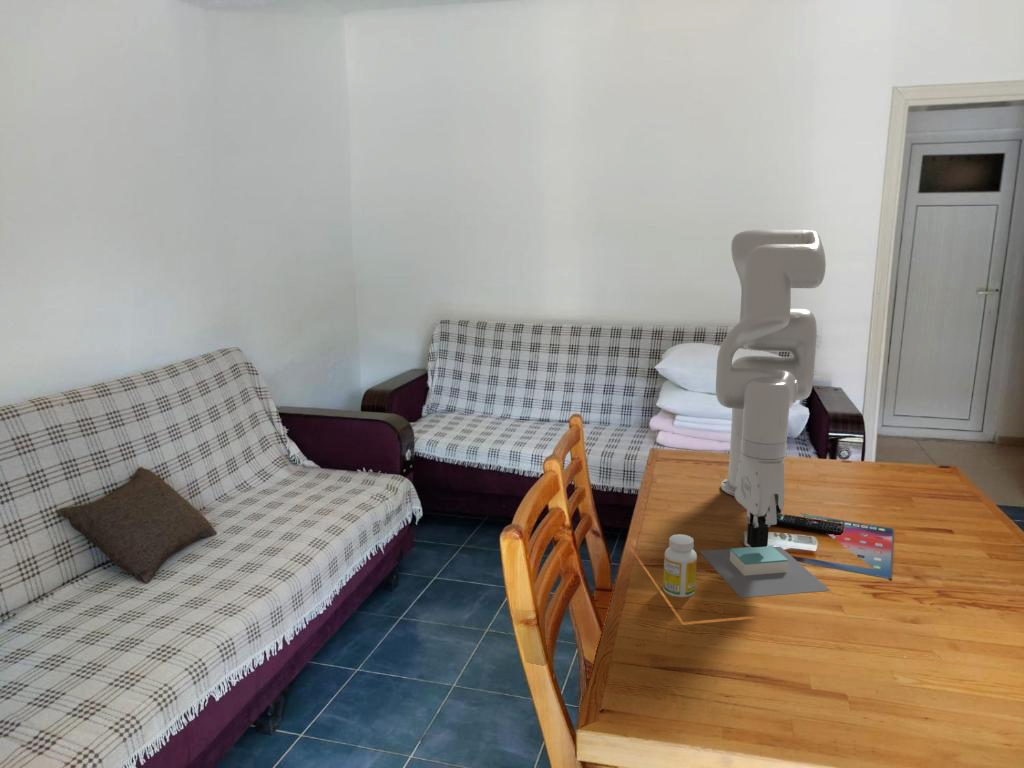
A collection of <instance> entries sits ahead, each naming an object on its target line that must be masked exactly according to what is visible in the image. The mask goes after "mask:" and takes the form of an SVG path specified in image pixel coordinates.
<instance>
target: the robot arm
mask: <svg viewBox="0 0 1024 768" xmlns="http://www.w3.org/2000/svg"><path fill="white" fill-rule="evenodd" d="M730 250H731V256H732V262H733V265H734V267H735V270H736V273H737V276H738V278H739V279H738V280H739V283H740V287H741V291H740V292H741V297H740V311H739V314H740V315H739V322H738V323H737V324H736V325H735V326H734V327H733V328H732V329H731V330H730V331H729V332H728V333H727V335H726V336H725V338H724V339H723V341H722V342H721V345H720V347H719V350H718V355H717V361H716V372H715V373H716V374H715V375H716V377H715V395H716V396H715V397H716V399H717V401H718V403H719V404H720V405H721V406H723V407H724V408H727V409H731V428H730V443H729V444H730V446H729V459H728V460H729V463H728V465H727V468H726V469H727V470H728V478H725V479H723V480H722V481H721V483H720V488H721V490H722V491H723V492H725V493H726V494H728V495H730V496H733V497H734V499H736V501H737V503H739V504H740V505H741V506H742V507H743V508H744V509H746V520H747V533H746V535H747V536H746V543H747V545H749V547H752V548H755V547H766V546H769V544H768V542H769V529H770V527H771V526H776V525H777V524H778V523H777V522H778V519H777V516H778V517H779V516H781V515H782V513H783V510H784V504H785V490H786V489H785V486H786V485H785V484H786V483H785V481H786V480H785V462H784V461H785V460H786V457H787V444H788V443H787V442H788V431H789V430H788V427H789V416H790V409H791V408H792V406H793V404H794V403H796V402H797V401H803V400H807V398H808V397H809V398H810V396H811V393H812V390H813V386H814V375H815V361H816V352H817V351H816V348H817V332H818V329H817V327H818V326H817V321H816V320H817V319H816V316H815V315H814V313H813V312H812V311H810V310H809V309H806V308H800V307H799V308H791V305H792V304H791V301H792V300H791V299H792V298H791V297H792V296H791V293H792V290H791V289H816V288H818V287H820V286H821V284H822V283H823V281H824V279H825V276H826V268H827V267H826V265H827V264H826V254H825V249H824V246H823V243H822V239H821V237H820V235H819V233H818V232H817V231H815V230H811V229H752V230H745V231H744V230H743V231H741V232H738V233H737V234H735V235H734V236H733V238H732V240H731V249H730ZM742 347H743V348H745V349H747V350H751V351H758V352H759V351H760V352H780V353H781V352H783V353H784V352H785V353H786V352H787V353H790V354H792V356H790V357H789V356H773V355H744V356H741V357H739V358H737V359H735V360H734V361H733V358H734V355H735V353H736V352H737V351H738V350H739V349H740V348H742Z"/></svg>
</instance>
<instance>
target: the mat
mask: <svg viewBox="0 0 1024 768" xmlns="http://www.w3.org/2000/svg"><path fill="white" fill-rule="evenodd" d="M774 548H775V549H776V550H777V551H778V552H780V553H781V554H782V555H783V556H784V557H785V558H786V559H787V560H788V564H787V572H784V573H772V574H759V575H747V576H744V575H743V574H742V573H741V572H740V571H739V570H738V569H737V568H736V567H735V565H734V564H733V563H732V562H731V561H730V549H731V548H723V549H709V550H708V549H707V550H699V553H700V554H701V555H702V556H703V557H704V559H705V560H706V561H707V562H708V563H709V564H710V565H711V567H712V568H713V569H714V570H715V571H716V572H717V573H718V574H719V575H720V576H721V578H723V580H724V581H725V582H726V583H727V585H728V586H730V588H731V589H732V590H733V591H734V592H735V593H736V595H737V596H738V597H739V599H746V598H758V597H770V596H782V595H783V596H785V595H792V594H794V595H795V594H806V593H815V592H816V593H818V592H830V591H831V589H830V588H829V587H827V585H825V584H824V583H823V582H822V581H821V580H819V579H818V578H817V577H816V576H814V575H813V573H812V572H810V571H809V570H808V569H806V568H805V567H804V566H803V565H802V563H801V562H797V561H796V560H795V559H794V558H793V557H792V556H793V555H791V554H790V553H788V552H787V551H786V550H785V549H784V548H783V547H782V546H780V547H774Z"/></svg>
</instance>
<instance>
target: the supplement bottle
mask: <svg viewBox="0 0 1024 768" xmlns="http://www.w3.org/2000/svg"><path fill="white" fill-rule="evenodd" d="M668 540H669V541H668V545H669V547H668V548H666V549H665V551H664V557H663V558H664V559H663V560H664V562H663V579H662V580H663V582H662V589H663V591H664V592H665V594H668V595H669V596H671V597H677V598H687V597H690V596H693V595H694V594H695V592H696V581H697V580H696V578H697V563H698V562H697V559H698V554H697V551H695V549H694V546H695V545H694V543H695V542H694V538H693V537H691V536H690V535H688V534H687V535H686V534H683V533H682V534H673V535H671V536H670V537H669V538H668Z"/></svg>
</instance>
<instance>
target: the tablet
mask: <svg viewBox="0 0 1024 768" xmlns="http://www.w3.org/2000/svg"><path fill="white" fill-rule="evenodd" d="M800 515H801V516H802V517H804V518H805V517H806V518H805V519H807V518H815V519H821V520H827V521H831V522H838V523H843V524H844V526H845V530H844V532H843V533H842V534H841V535H834V534H827V535H828V536H829V537H831V538H832V539H833V540H835V542H837V543H838V544H840V545H842V546H843V547H844V548H845V549H847V550H848V551H849V552H850V553H852V554H853V555H855V556H856V557H858V558H859V559H860V560H861V561H862V562H864V563H866V565H869V566H870V567H864V566H858V565H857V566H856V565H851V564H846V563H838V562H833V561H832V562H831V561H827V560H822V559H821V560H819V559H814V558H807V557H800V556H794V555H791V556H792V557H793V558H794V559H795V560H796V561H797V562H799V563H800V564H802V563H803V564H808V565H813V566H818V567H823V568H828V569H833V570H838V571H844V572H849V573H855V574H860V575H865V576H871V577H875V578H879V579H881V578H882V579H886V580H888V581H889V582H890V581H892V579H893V564H894V562H893V561H894V543H895V529H894V528H892V527H887V526H879V525H875V524H867V523H862V522H855V521H850V520H842V519H837V518H831V517H825V516H819V515H812V514H807V513H806V514H805V513H800Z"/></svg>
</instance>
